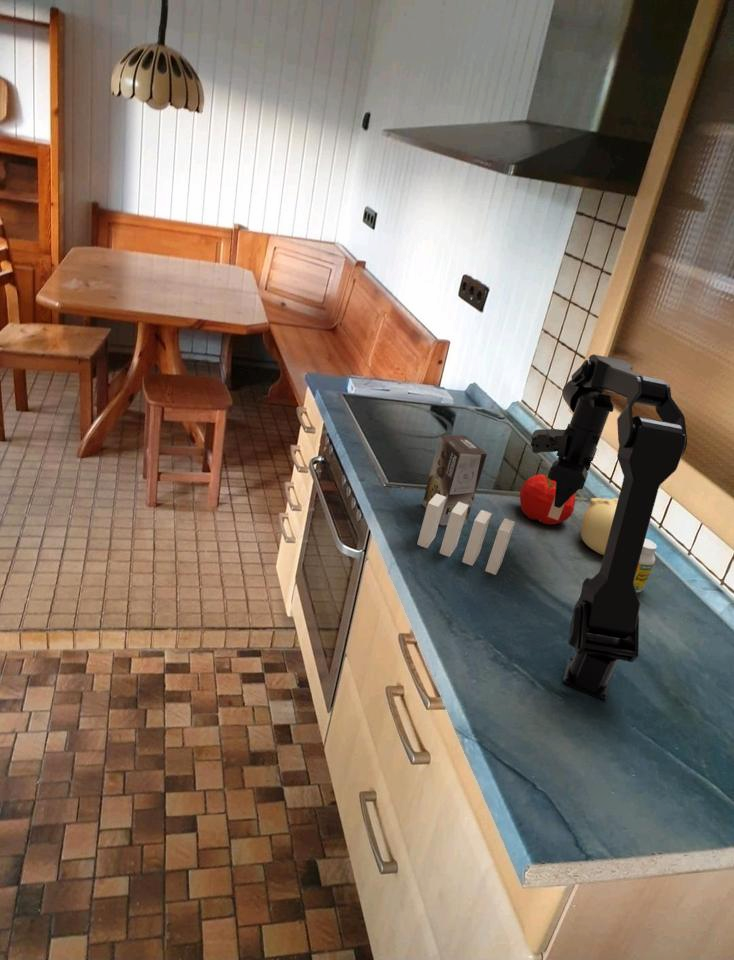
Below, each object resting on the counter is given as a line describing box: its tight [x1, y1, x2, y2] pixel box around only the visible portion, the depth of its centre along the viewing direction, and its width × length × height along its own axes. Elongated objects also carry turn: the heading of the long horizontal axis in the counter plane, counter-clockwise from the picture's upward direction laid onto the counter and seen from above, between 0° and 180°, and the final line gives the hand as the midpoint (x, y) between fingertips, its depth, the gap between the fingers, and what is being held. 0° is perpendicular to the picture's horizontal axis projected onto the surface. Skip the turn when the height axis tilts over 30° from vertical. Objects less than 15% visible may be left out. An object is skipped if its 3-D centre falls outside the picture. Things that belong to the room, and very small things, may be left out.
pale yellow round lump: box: [580, 497, 619, 556], centre depth 143 cm, size 12×12×11 cm
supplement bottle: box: [634, 538, 658, 594], centre depth 131 cm, size 5×5×10 cm
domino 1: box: [416, 493, 446, 549], centre depth 131 cm, size 5×2×9 cm, turn 157°
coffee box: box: [422, 434, 488, 526], centre depth 141 cm, size 9×6×16 cm
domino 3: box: [461, 509, 492, 567], centre depth 129 cm, size 5×2×9 cm, turn 157°
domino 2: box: [439, 502, 469, 558], centre depth 130 cm, size 5×2×9 cm, turn 157°
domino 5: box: [548, 498, 565, 520], centre depth 130 cm, size 5×2×9 cm, turn 157°
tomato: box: [519, 473, 576, 526], centre depth 150 cm, size 11×12×9 cm
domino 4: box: [485, 518, 516, 576], centre depth 128 cm, size 5×2×9 cm, turn 157°
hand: (559, 501), depth 131 cm, fingers closed on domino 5, 5 cm apart
